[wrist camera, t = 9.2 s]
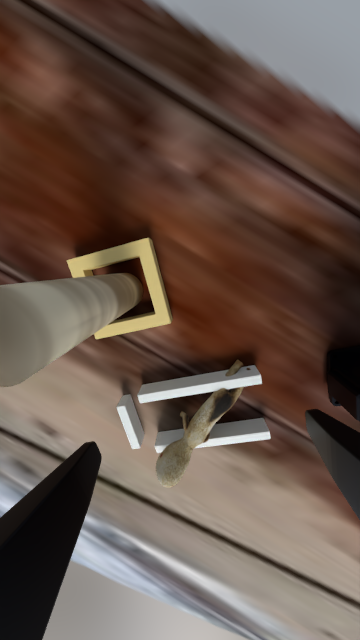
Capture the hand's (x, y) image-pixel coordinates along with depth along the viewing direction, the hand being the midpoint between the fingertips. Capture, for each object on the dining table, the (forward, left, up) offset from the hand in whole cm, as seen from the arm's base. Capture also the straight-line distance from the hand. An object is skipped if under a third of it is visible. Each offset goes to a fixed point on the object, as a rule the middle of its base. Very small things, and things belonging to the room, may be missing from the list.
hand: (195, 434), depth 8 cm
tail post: (+6, -6, -13) cm, 16 cm away
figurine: (+1, +9, -13) cm, 16 cm away
